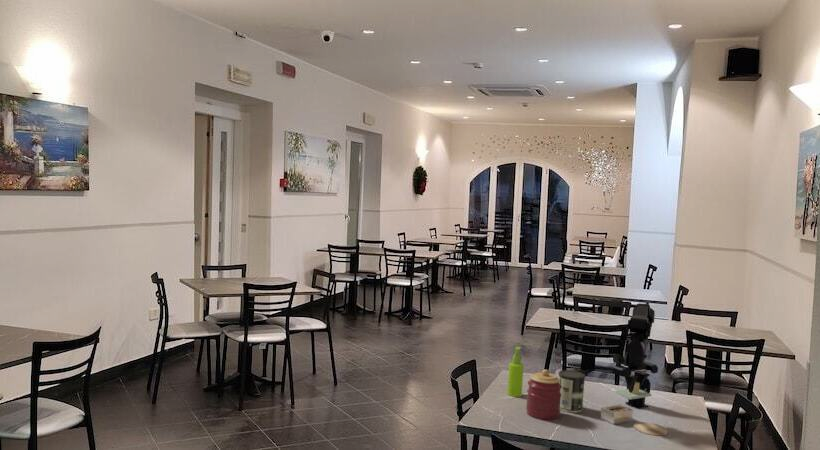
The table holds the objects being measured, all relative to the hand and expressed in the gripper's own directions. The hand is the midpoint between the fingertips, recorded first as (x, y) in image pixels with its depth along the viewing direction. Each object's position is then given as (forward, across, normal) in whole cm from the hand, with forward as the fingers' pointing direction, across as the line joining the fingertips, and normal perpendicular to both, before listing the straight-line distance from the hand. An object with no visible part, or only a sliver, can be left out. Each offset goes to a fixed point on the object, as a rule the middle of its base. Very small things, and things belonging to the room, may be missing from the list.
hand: (633, 391), depth 241 cm
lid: (+1, 0, 0) cm, 1 cm away
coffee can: (+13, +11, -22) cm, 28 cm away
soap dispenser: (+13, +21, -44) cm, 50 cm away
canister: (+13, +26, -21) cm, 35 cm away
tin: (+13, +2, -5) cm, 14 cm away
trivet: (+13, -3, +7) cm, 15 cm away
